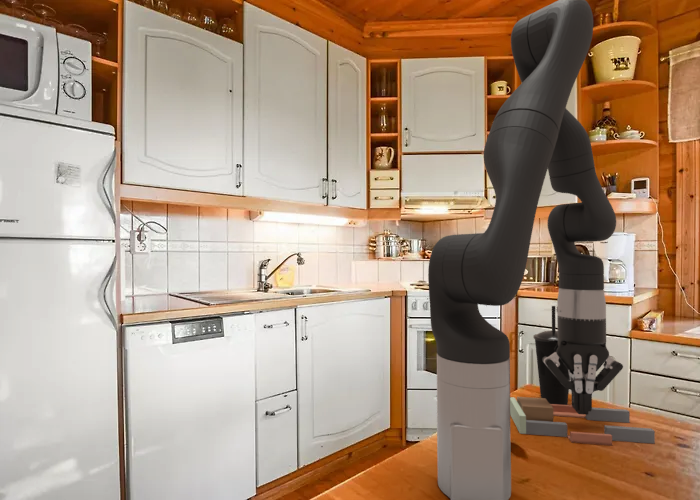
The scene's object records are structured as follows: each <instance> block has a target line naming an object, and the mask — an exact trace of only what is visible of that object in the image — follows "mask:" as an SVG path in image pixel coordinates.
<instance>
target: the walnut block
mask: <svg viewBox="0 0 700 500" xmlns="http://www.w3.org/2000/svg"><path fill="white" fill-rule="evenodd" d="M516 401H517V402H518V404H519V406H520V407H521V409H522V411H523V412H524V414H525V415H526V420H535V421H549V422H554V416H553V407H552V406H551V405H550V403H549V402H548V401H547V400H546V398H541V397H532V396H531V397H528V396H516Z"/></svg>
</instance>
